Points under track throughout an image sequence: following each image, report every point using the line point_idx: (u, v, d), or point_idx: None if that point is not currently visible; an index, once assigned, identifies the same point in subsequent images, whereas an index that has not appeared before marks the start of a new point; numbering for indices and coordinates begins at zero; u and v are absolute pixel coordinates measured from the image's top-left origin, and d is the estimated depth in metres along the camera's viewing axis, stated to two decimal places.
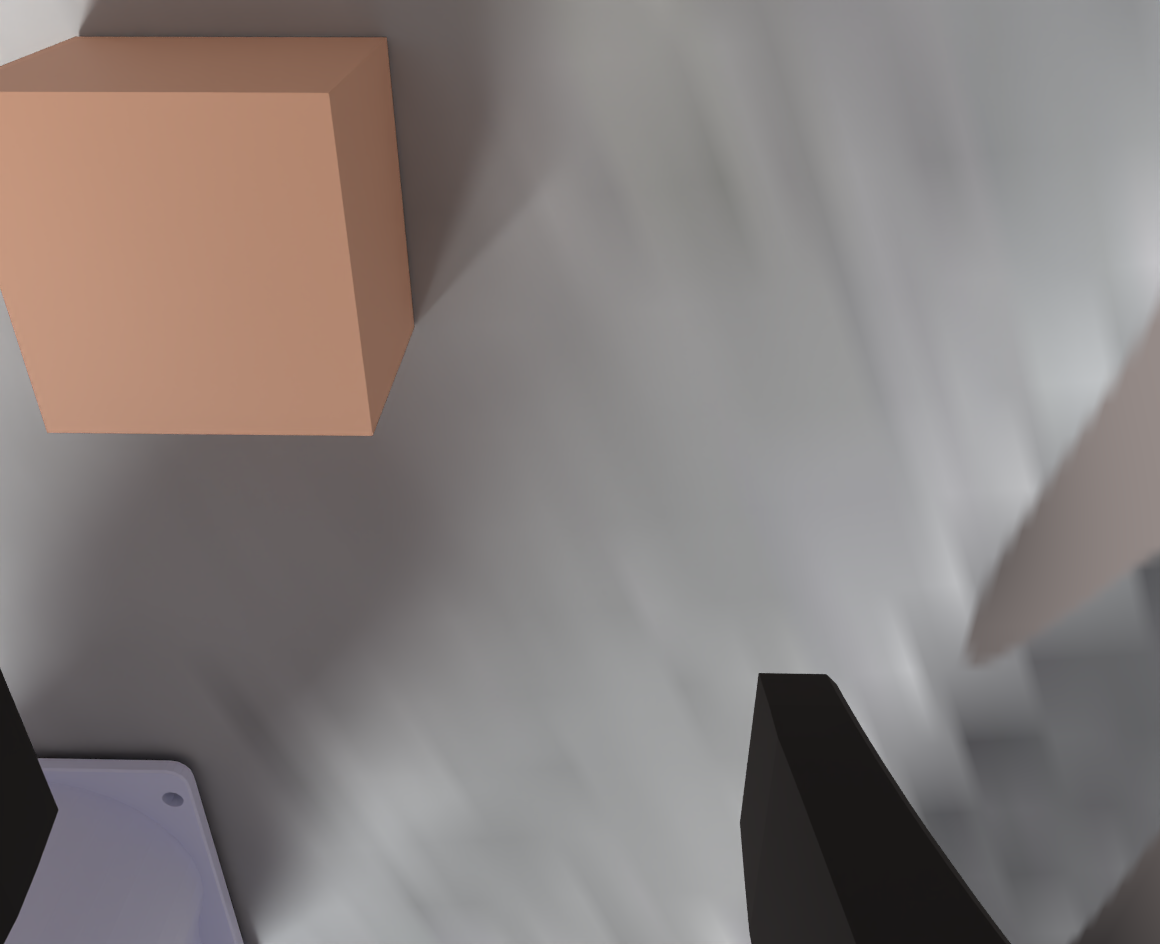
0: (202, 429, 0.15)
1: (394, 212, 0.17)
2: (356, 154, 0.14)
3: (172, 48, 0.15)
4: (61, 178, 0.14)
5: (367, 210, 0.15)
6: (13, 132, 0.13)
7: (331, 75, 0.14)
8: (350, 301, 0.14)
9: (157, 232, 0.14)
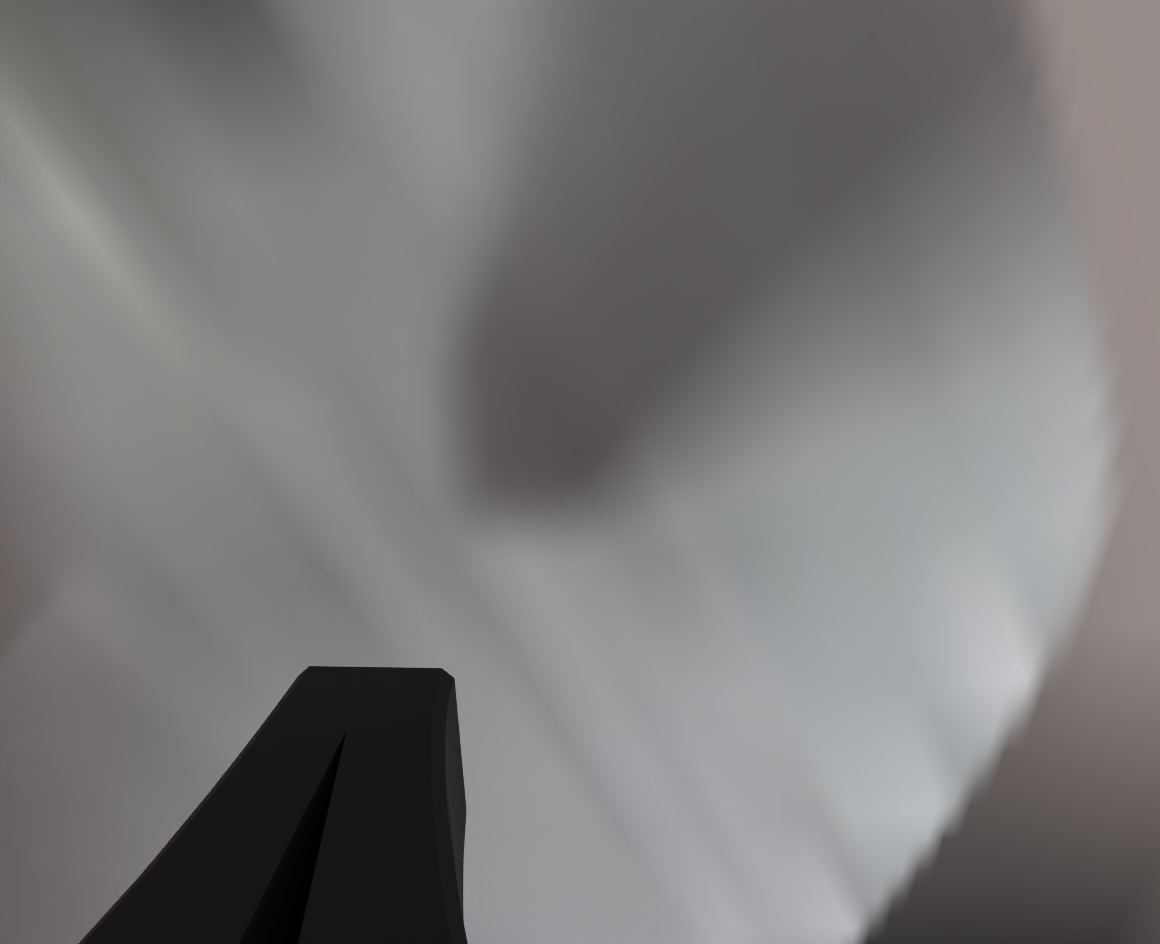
0: None
1: None
2: None
3: None
4: None
5: None
6: None
7: None
8: None
9: None
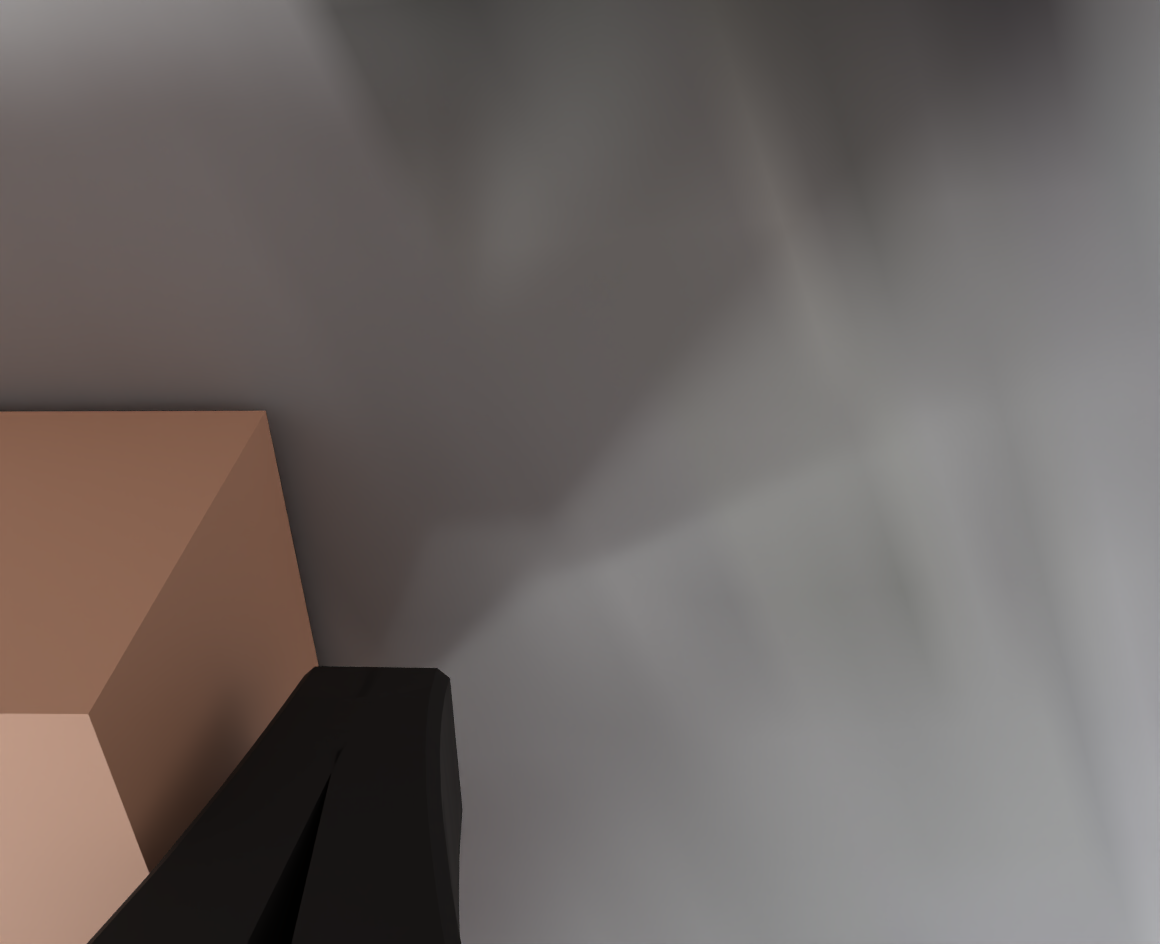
0: None
1: (290, 663, 0.11)
2: (183, 710, 0.08)
3: None
4: None
5: (219, 762, 0.09)
6: None
7: (121, 609, 0.07)
8: None
9: None
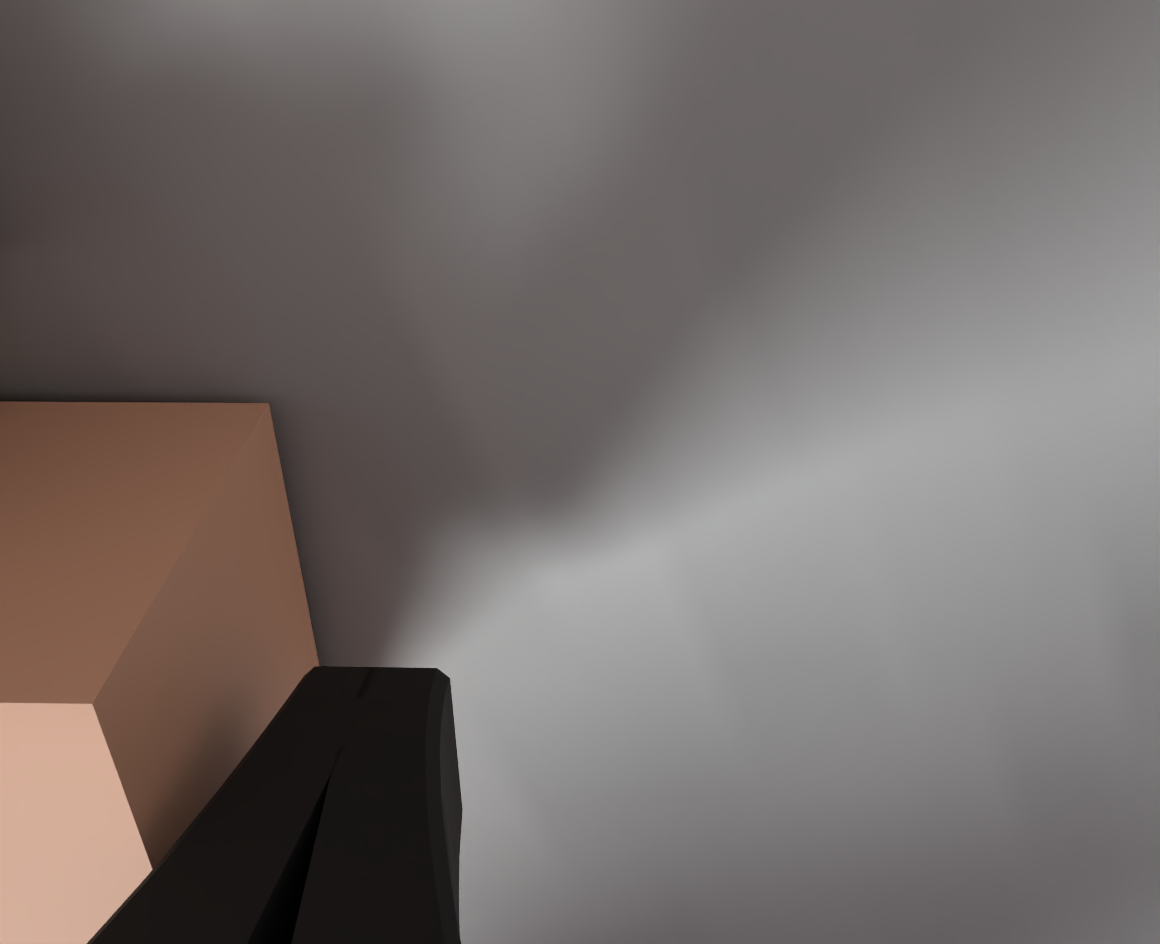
0: None
1: (290, 657, 0.11)
2: (186, 702, 0.08)
3: None
4: None
5: (219, 754, 0.09)
6: None
7: (125, 599, 0.07)
8: None
9: None
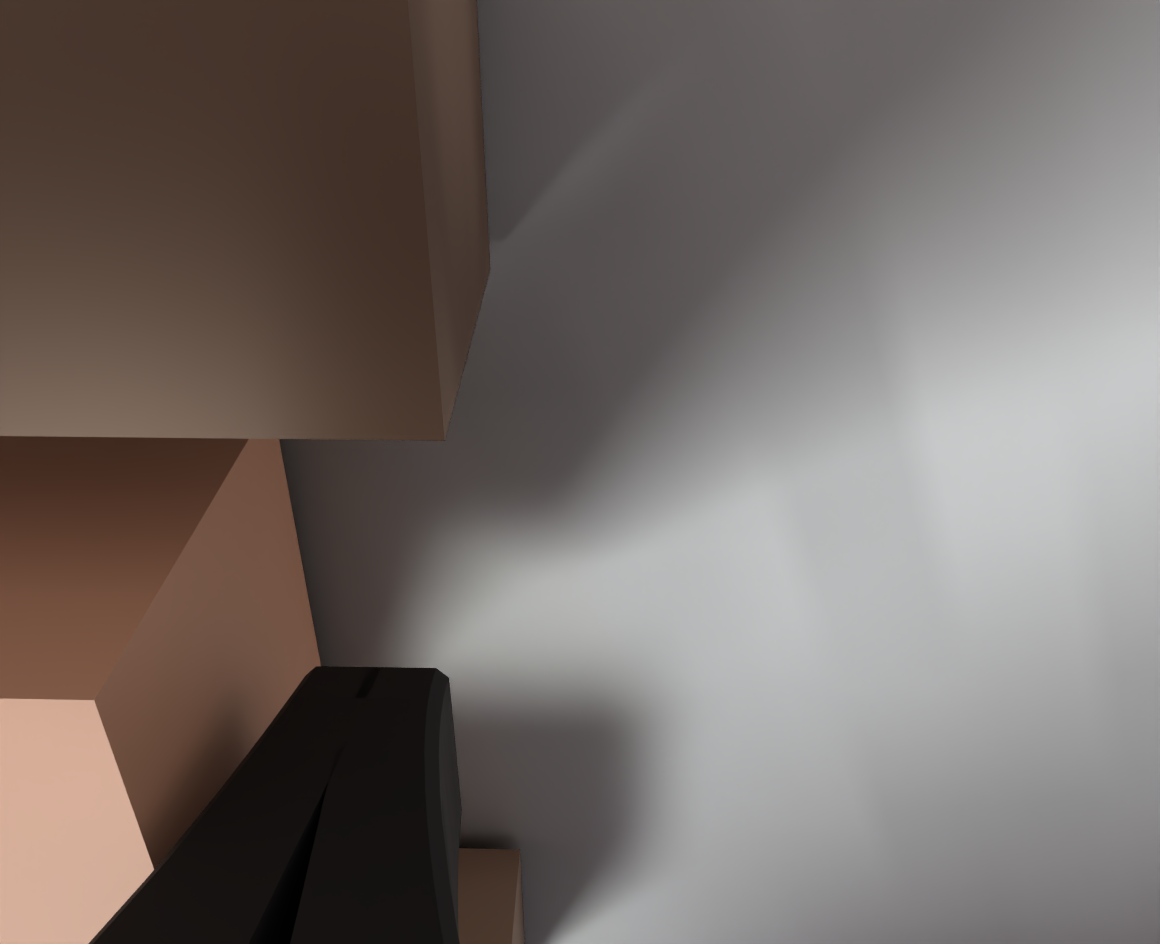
0: None
1: (292, 654, 0.11)
2: (187, 699, 0.08)
3: None
4: None
5: (221, 752, 0.09)
6: None
7: (127, 596, 0.07)
8: None
9: None
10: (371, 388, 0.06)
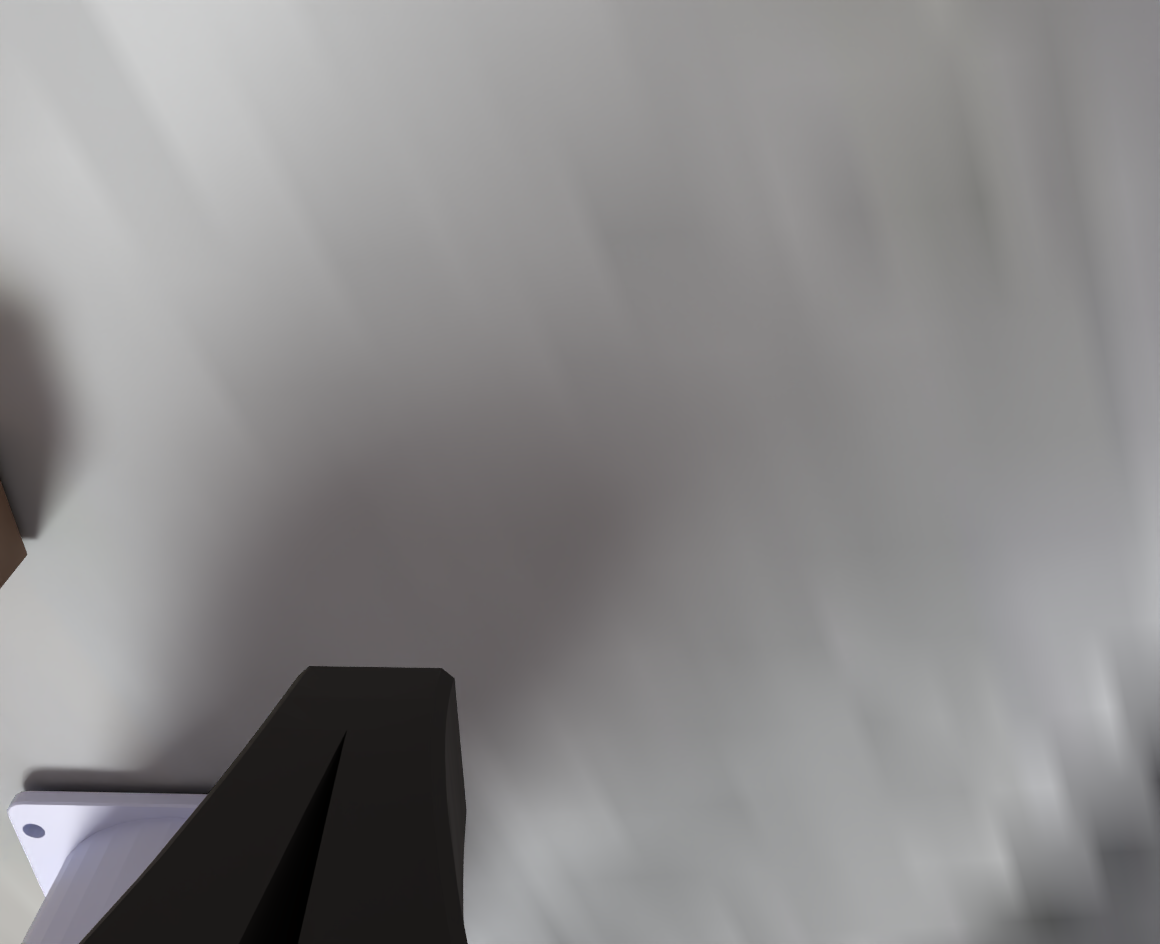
0: None
1: None
2: None
3: None
4: None
5: None
6: None
7: None
8: None
9: None
10: None
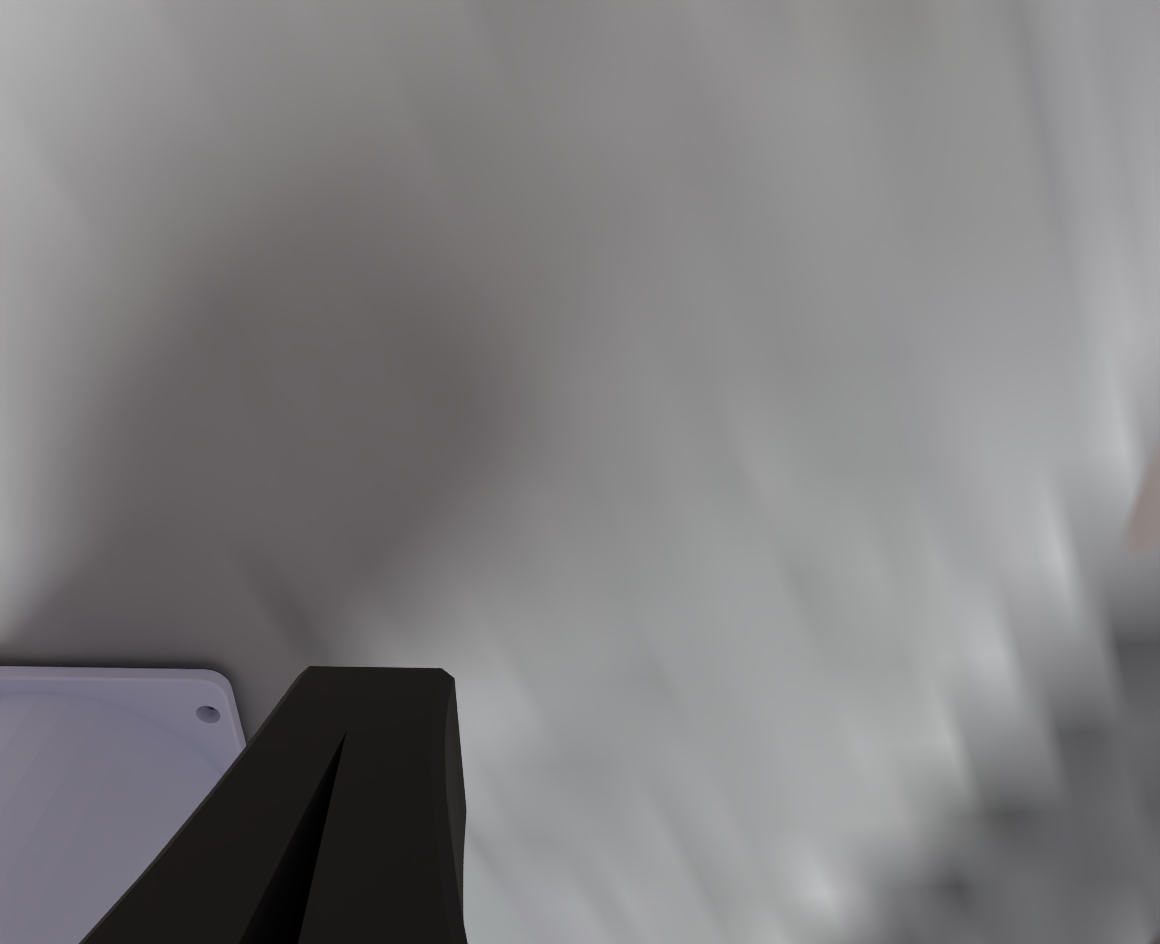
0: None
1: None
2: None
3: None
4: None
5: None
6: None
7: None
8: None
9: None
10: None
